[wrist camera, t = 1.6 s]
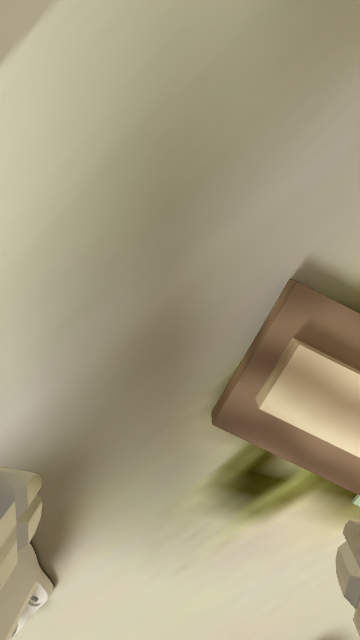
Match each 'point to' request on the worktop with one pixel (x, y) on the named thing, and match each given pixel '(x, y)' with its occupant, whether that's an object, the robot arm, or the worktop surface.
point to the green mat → (356, 500)
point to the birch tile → (315, 395)
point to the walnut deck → (273, 338)
